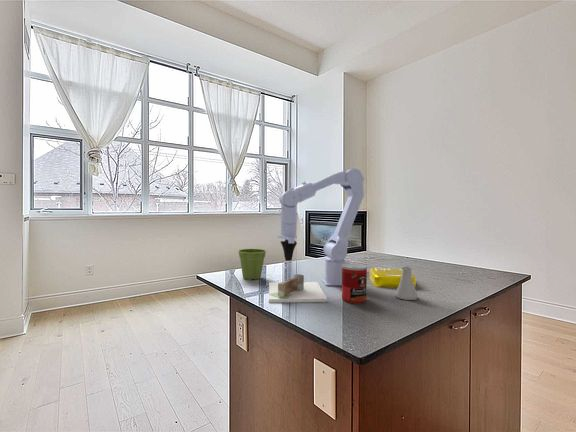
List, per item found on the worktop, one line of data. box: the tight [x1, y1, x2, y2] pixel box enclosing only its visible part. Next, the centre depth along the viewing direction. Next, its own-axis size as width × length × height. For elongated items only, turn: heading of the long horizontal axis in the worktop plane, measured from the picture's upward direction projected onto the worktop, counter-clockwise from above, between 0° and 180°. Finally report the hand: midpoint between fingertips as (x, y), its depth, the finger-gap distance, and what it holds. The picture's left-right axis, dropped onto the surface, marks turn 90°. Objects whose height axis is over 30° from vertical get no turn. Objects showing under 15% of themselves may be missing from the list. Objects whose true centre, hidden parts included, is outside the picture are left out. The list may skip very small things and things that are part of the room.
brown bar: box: [278, 273, 305, 297], centre depth 100 cm, size 13×4×4 cm, turn 147°
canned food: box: [341, 262, 368, 304], centre depth 97 cm, size 8×8×11 cm
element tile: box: [369, 267, 417, 289], centre depth 119 cm, size 15×15×5 cm
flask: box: [394, 265, 419, 301], centre depth 100 cm, size 7×7×10 cm
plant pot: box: [237, 248, 268, 281], centre depth 124 cm, size 12×12×11 cm
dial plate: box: [268, 281, 328, 304], centre depth 104 cm, size 18×20×1 cm
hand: (288, 260), depth 112 cm, fingers closed
